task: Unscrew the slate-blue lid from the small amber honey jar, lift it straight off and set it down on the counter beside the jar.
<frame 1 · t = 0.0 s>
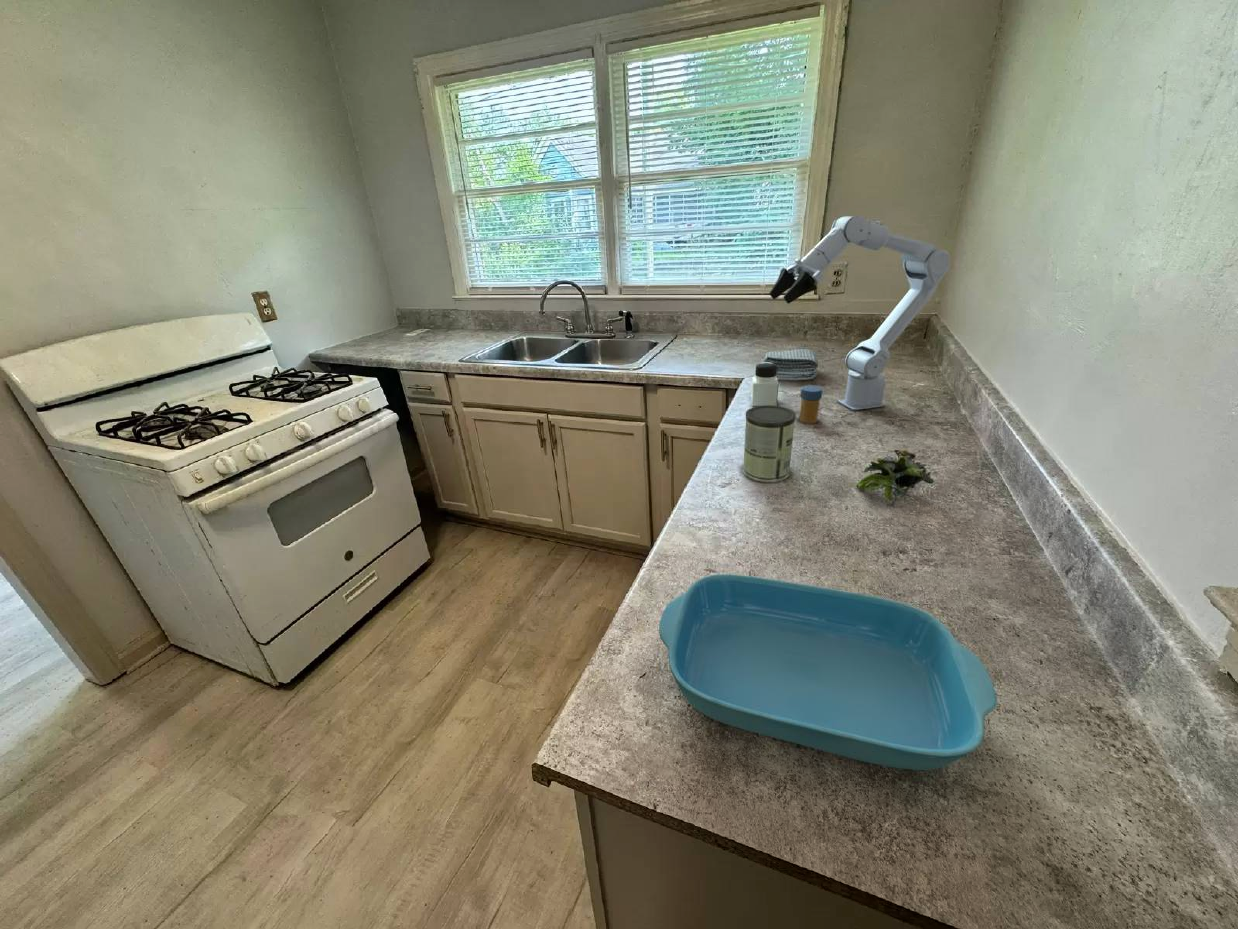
hand: (778, 298, 125), 32 cm above the worktop, tool tilted 50°, fingers open, 7 cm apart
jar lid: (811, 389, 132), point 9 cm above the worktop, screwed on, not yet turned
medicine bottle: (763, 403, 150), on the worktop
towel: (787, 374, 173), on the worktop
casserole dish: (805, 685, 62), on the worktop
coffee can: (765, 472, 112), on the worktop
honey jar: (808, 420, 136), on the worktop
green leafy plant: (891, 497, 99), on the worktop
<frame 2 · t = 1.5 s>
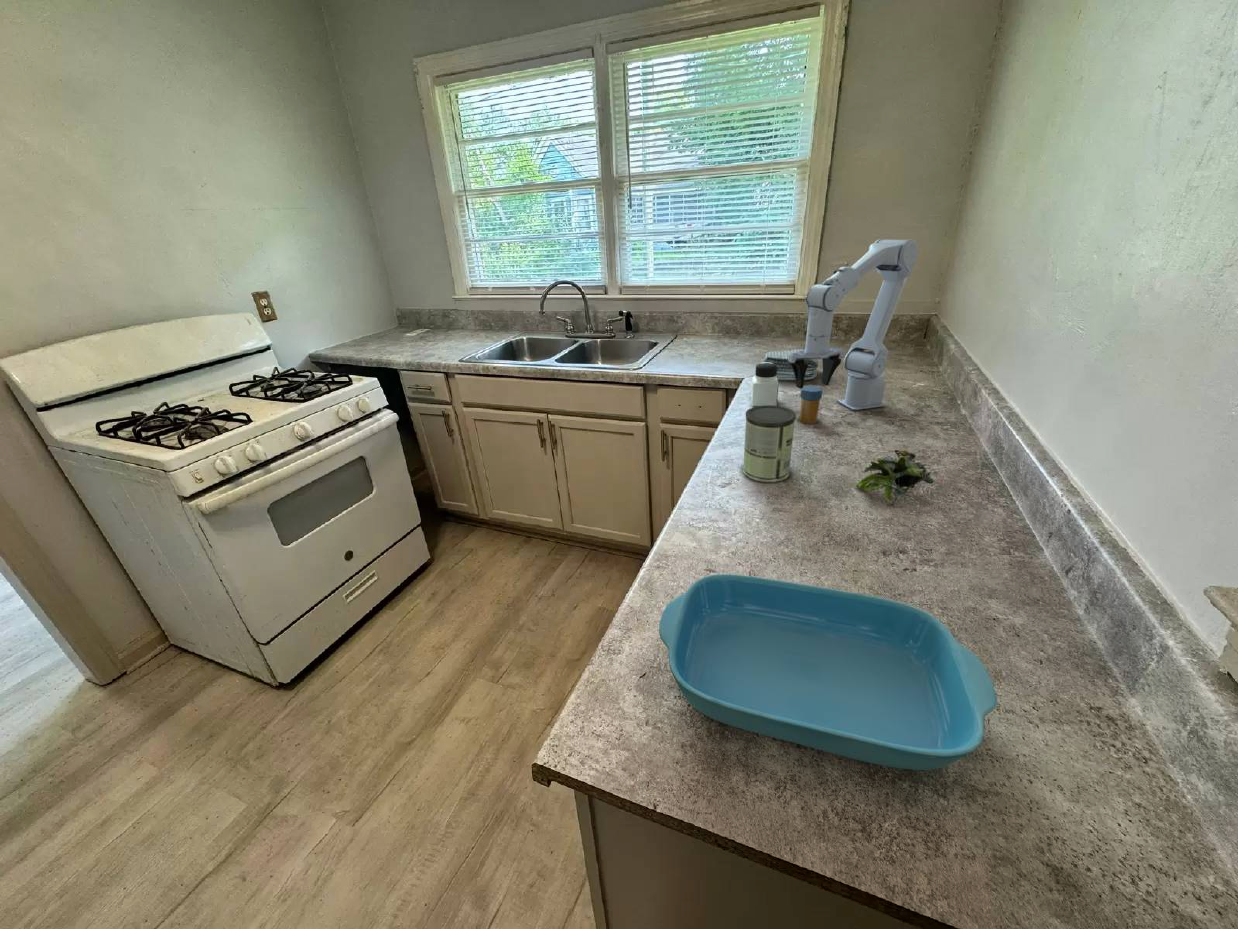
hand: (812, 385, 131), 10 cm above the worktop, tool pointing down, fingers open, 7 cm apart
nothing on the worktop moved.
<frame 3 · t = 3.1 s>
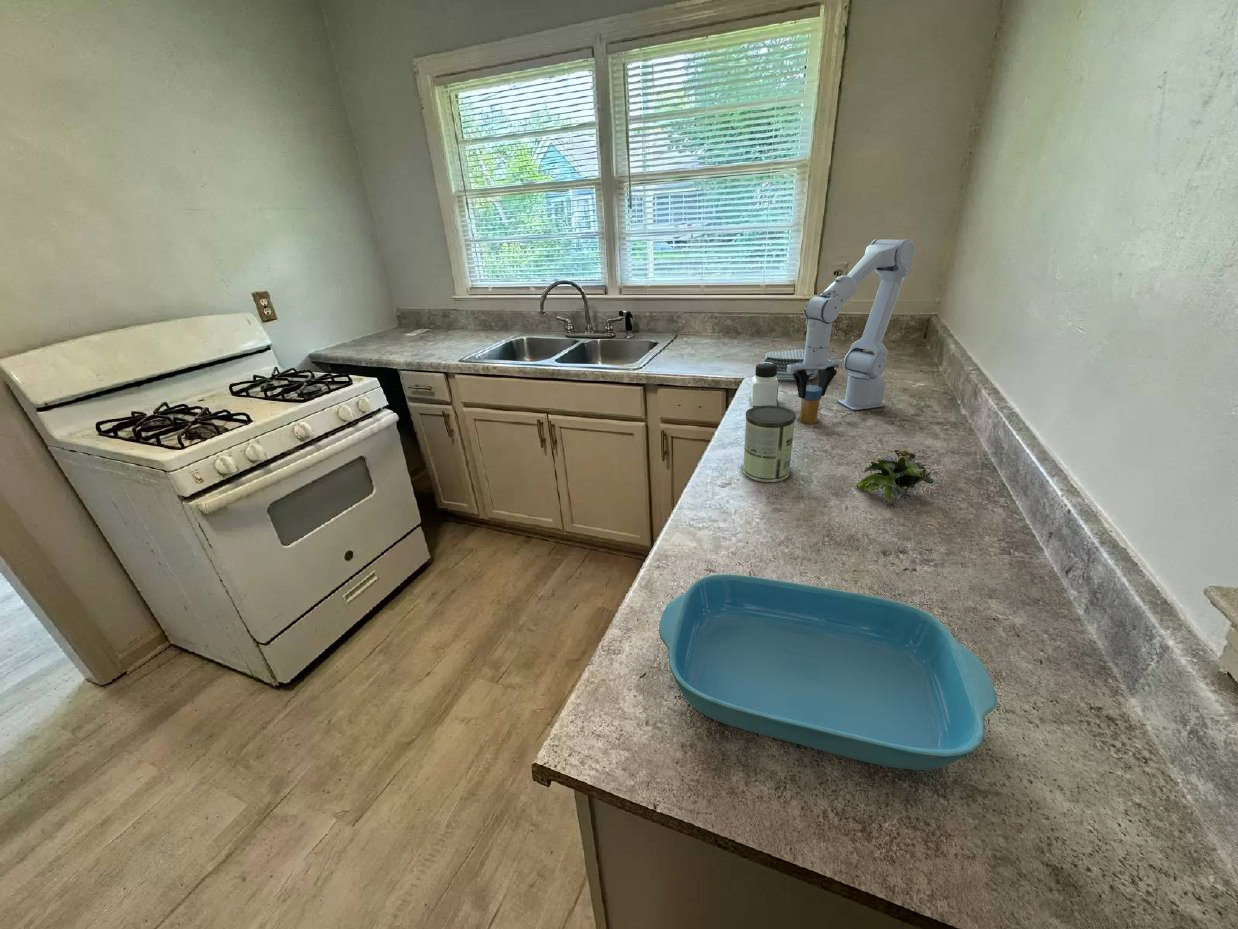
hand: (810, 396, 133), 7 cm above the worktop, tool pointing down, fingers closed on jar lid, 5 cm apart
jar lid: (811, 389, 132), point 9 cm above the worktop, screwed on, not yet turned, touching gripper
everything else where it was.
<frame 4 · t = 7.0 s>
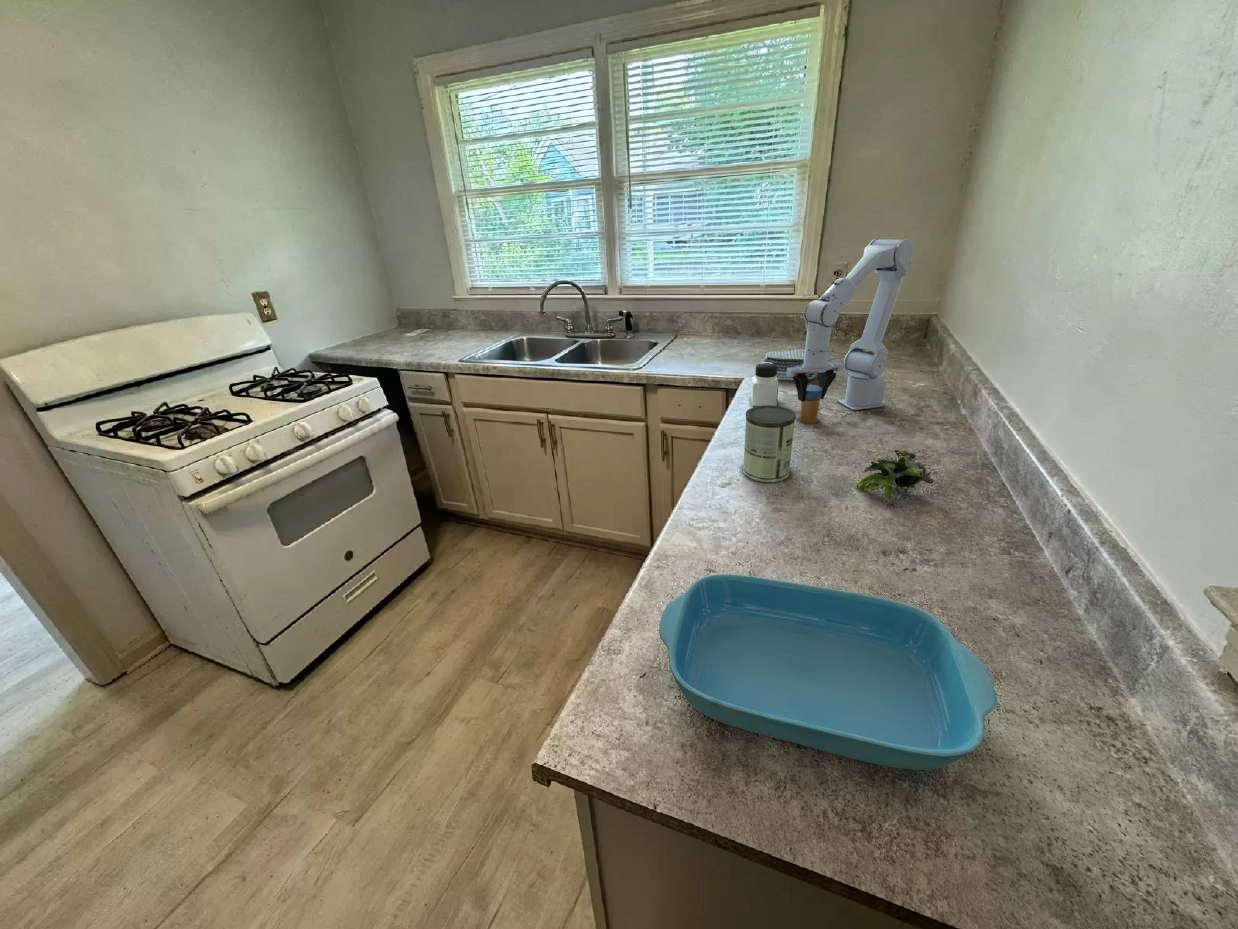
hand: (810, 399, 133), 6 cm above the worktop, tool pointing down, fingers closed on jar lid, 5 cm apart
jar lid: (811, 389, 132), point 9 cm above the worktop, turned 40° so far, risen 0.1 cm, still on its thread, touching gripper
everything else where it was.
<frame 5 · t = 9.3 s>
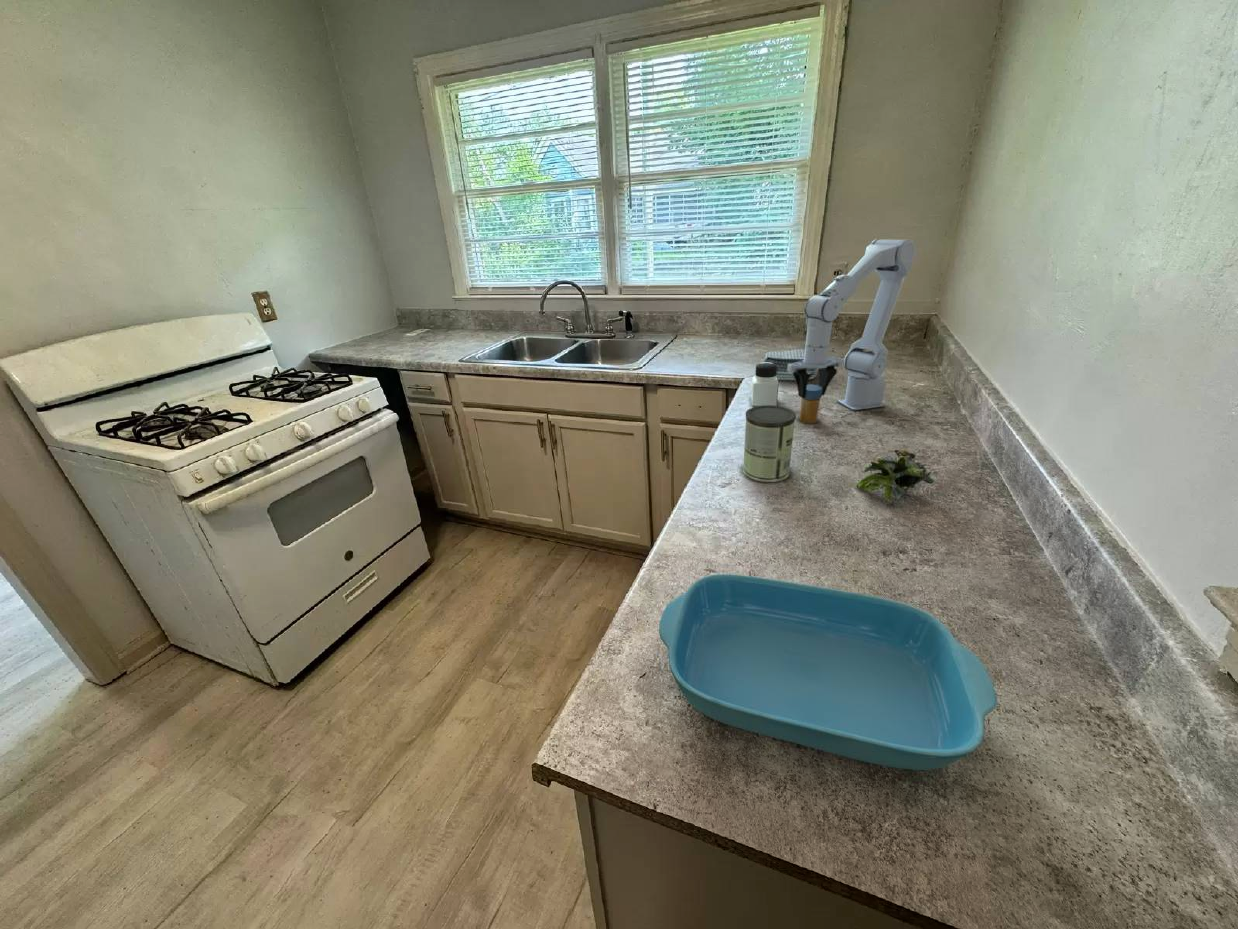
hand: (811, 395, 133), 7 cm above the worktop, tool pointing down, fingers closed on jar lid, 5 cm apart
jar lid: (811, 389, 132), point 9 cm above the worktop, turned 77° so far, risen 0.2 cm, still on its thread, touching gripper
everything else where it was.
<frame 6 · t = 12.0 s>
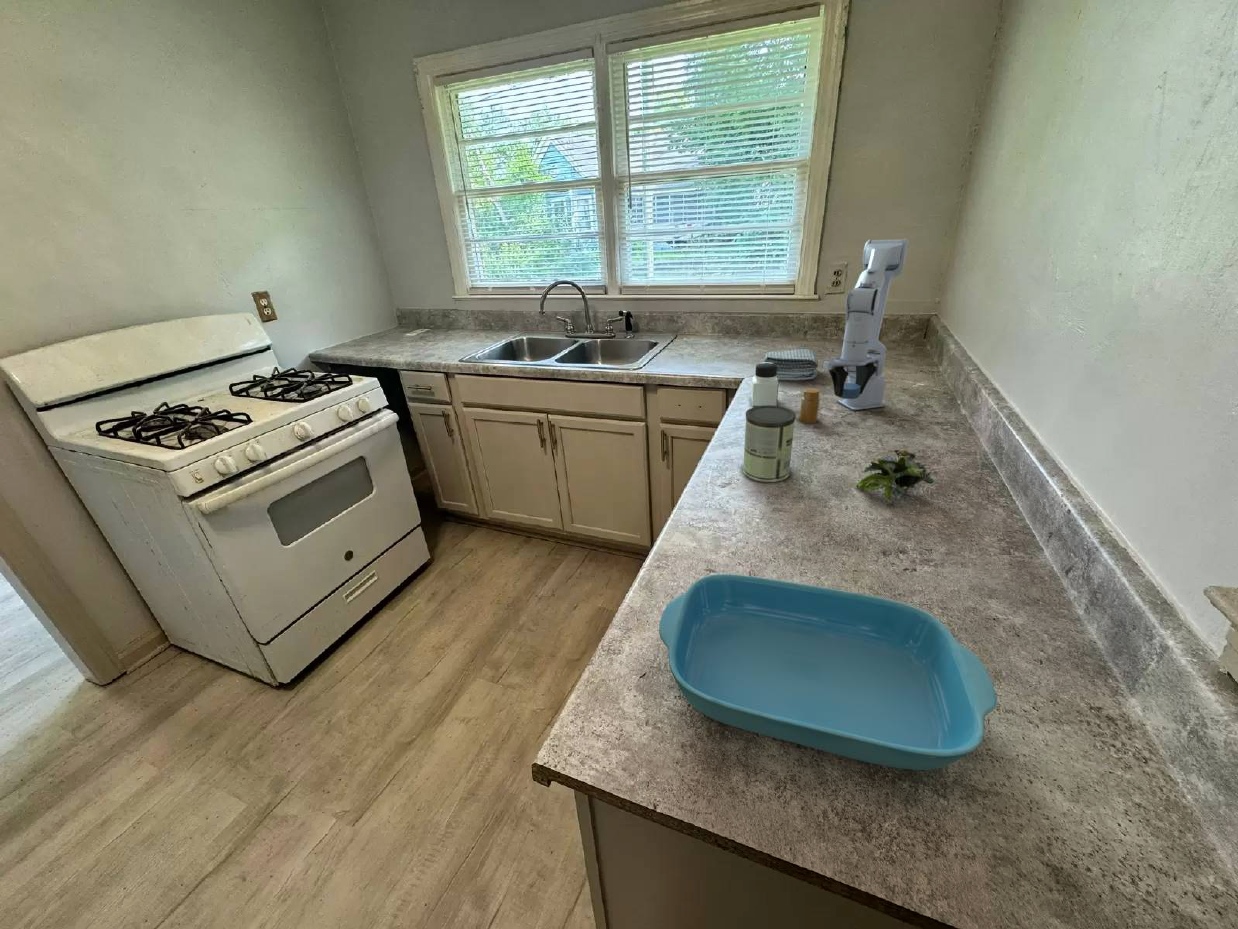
hand: (848, 394, 125), 10 cm above the worktop, tool pointing down, fingers closed on jar lid, 5 cm apart
jar lid: (849, 387, 124), point 11 cm above the worktop, off its thread, touching gripper
everything else where it was.
when the fingers open (0 cm above the worktop, at t = 14.8 s): jar lid stays where it is, point 2 cm above the worktop.
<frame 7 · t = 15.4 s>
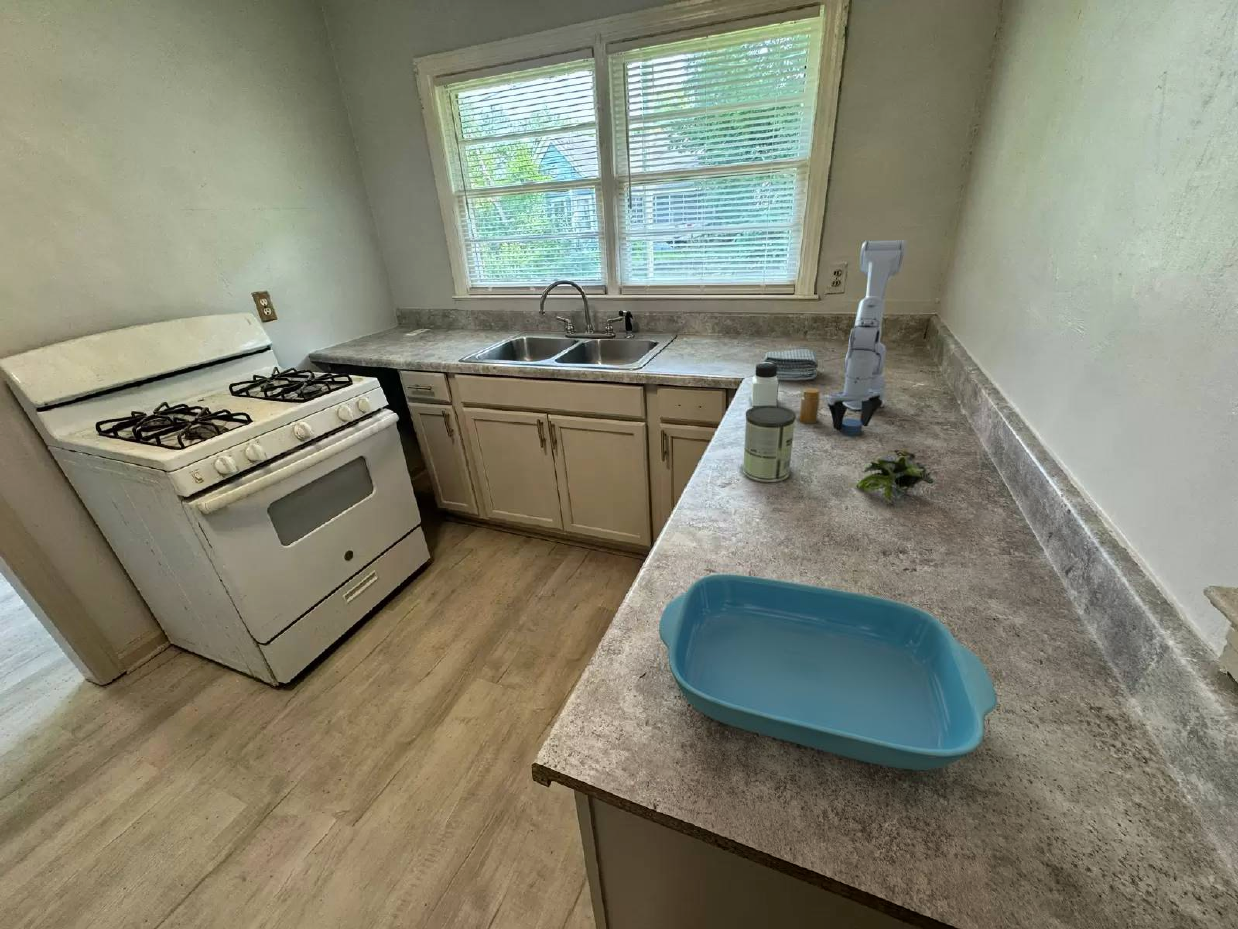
hand: (850, 426, 127), 1 cm above the worktop, tool pointing down, fingers open, 7 cm apart
jar lid: (850, 423, 127), point 2 cm above the worktop, off its thread
everything else where it was.
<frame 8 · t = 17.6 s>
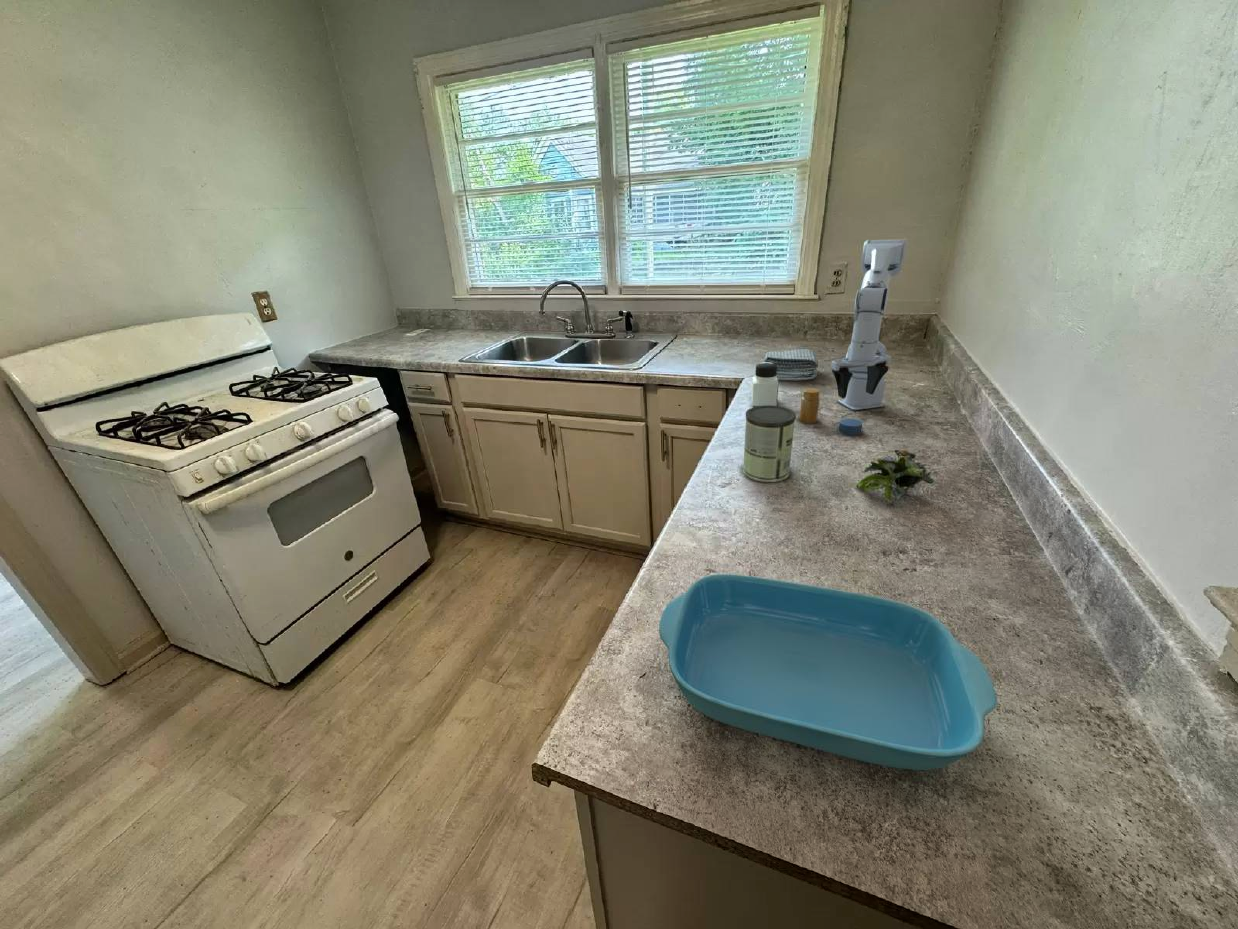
hand: (855, 394, 123), 10 cm above the worktop, tool pointing down, fingers open, 7 cm apart
nothing on the worktop moved.
at the end: jar lid came off its thread; jar lid point 2.1 cm above the worktop; the gripper is holding nothing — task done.
